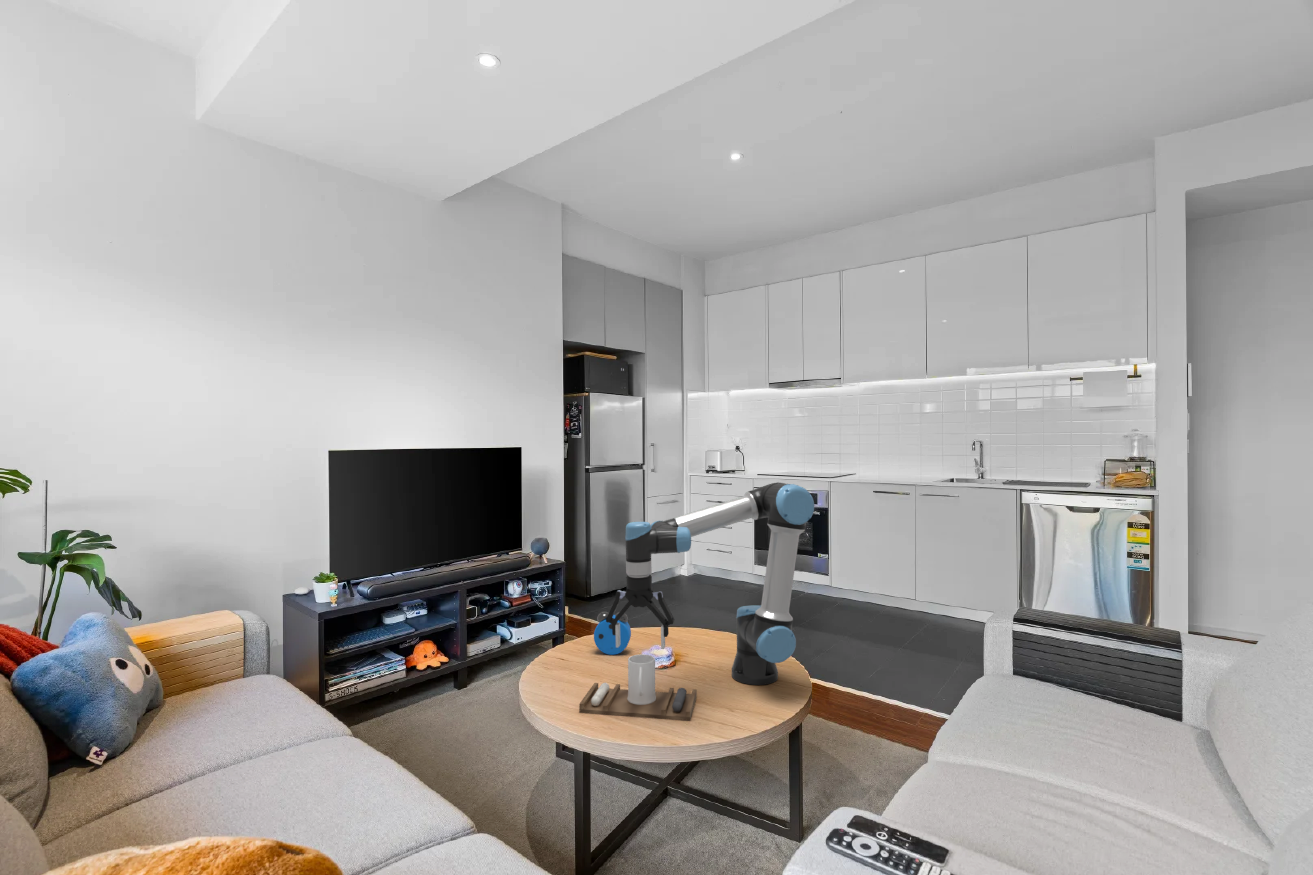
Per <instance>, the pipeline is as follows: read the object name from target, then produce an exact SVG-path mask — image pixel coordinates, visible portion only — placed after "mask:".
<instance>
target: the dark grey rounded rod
mask: <svg viewBox="0 0 1313 875" xmlns="http://www.w3.org/2000/svg"><path fill="white" fill-rule="evenodd" d="M676 693H677V694H676V696H675V699H674V702H673V705H672V708H673V710H674V711H675V712H679V711H681V709H682V706H683V703H684V700H685V697H686V694H688V693H687V689H686V688H684V687H679V688H678V689H677V691H676Z"/></svg>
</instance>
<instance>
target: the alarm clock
mask: <svg viewBox="0 0 1313 875" xmlns="http://www.w3.org/2000/svg"><path fill="white" fill-rule="evenodd" d="M619 612H620V611H619ZM619 612H617V613H615V614H614V615H613V617H612V618H614V619H615V617H616V616H617V615H618V614H619ZM608 614H609V612H607V611H600V612H599V613H598V615H597V617H596V620H597V622H598V623H597V625H596V627H595V629H594V632H593V641H594V643H595V646H596V648H597V649H598V650H599V651H601V652H602V653H604V654H606V655H609V656H611V655H612V656H614V655H619V654H621V653H622V652H624V650H625V649H627V647H628V645H629V643H630V641H631V637H632V630H631V626H630V624H629V623H628V620H629V618H628V615H627V614H626V612H625V613H624V614H623V615H622V617H621V618H620V619H619V620H618V621H617V623H620V646H619V647H616V635H613V634H612V624H611V623H609V622H606V618H607V616H608Z"/></svg>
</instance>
